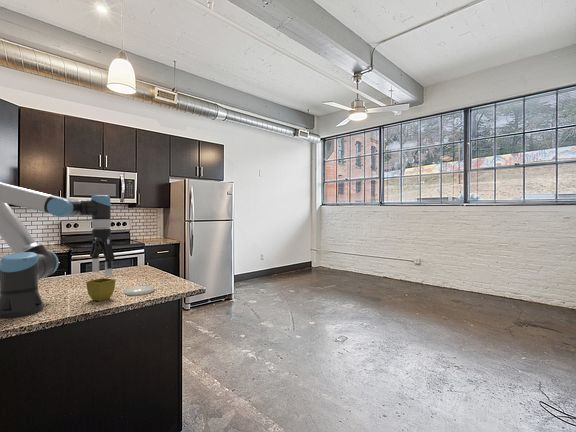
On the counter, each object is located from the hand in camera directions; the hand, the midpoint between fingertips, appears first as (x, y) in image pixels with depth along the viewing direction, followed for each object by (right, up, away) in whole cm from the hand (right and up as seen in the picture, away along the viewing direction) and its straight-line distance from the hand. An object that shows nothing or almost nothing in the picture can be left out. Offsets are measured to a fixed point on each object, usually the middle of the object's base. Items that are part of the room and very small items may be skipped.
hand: (102, 274), depth 143 cm
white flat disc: (+10, -12, +14) cm, 21 cm away
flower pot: (-1, -12, 0) cm, 12 cm away
